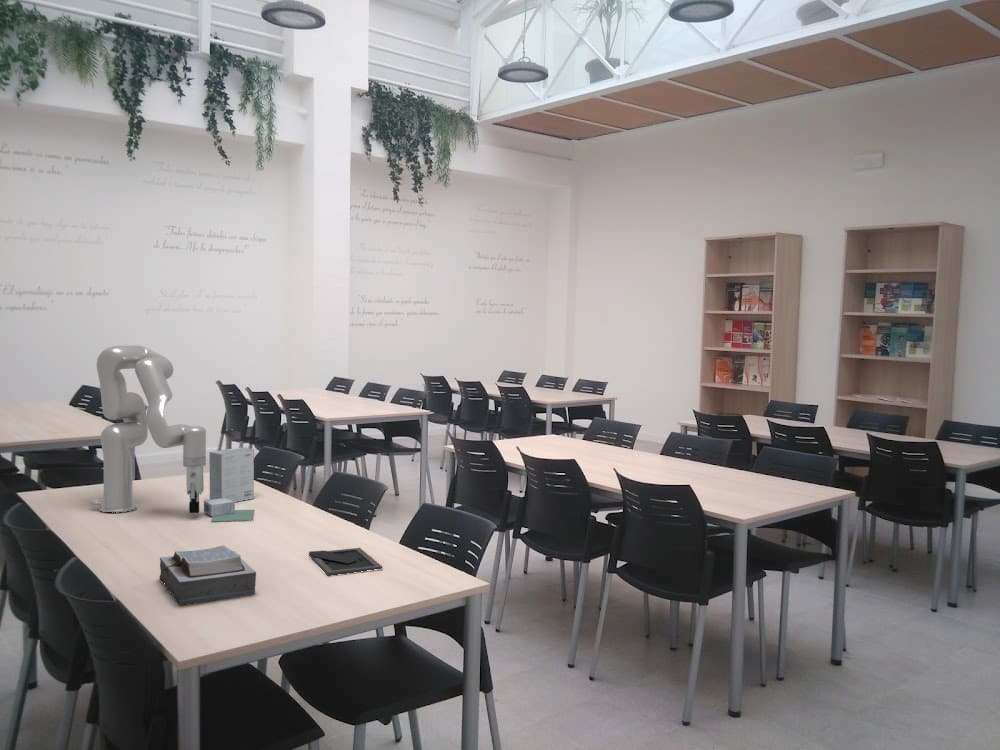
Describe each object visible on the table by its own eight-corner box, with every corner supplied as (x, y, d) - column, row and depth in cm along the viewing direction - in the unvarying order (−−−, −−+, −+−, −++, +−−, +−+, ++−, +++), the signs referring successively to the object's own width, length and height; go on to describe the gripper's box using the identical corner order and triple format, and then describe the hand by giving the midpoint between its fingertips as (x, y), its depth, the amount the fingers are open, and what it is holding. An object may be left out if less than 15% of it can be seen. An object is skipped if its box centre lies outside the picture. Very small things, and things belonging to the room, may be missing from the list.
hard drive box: (242, 496, 322) (243, 447, 321) (254, 499, 318) (255, 449, 317) (208, 502, 310) (208, 451, 309) (220, 505, 305) (221, 453, 304)
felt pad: (211, 522, 280) (211, 521, 280) (214, 511, 295) (214, 510, 295) (253, 521, 284) (253, 519, 283) (254, 510, 299) (254, 509, 299)
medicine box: (211, 516, 286) (234, 513, 292) (211, 504, 286) (235, 501, 291) (203, 512, 292) (227, 509, 298) (203, 500, 292) (227, 497, 297)
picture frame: (308, 558, 243) (327, 578, 225) (308, 551, 243) (327, 571, 225) (359, 552, 251) (382, 571, 232) (359, 546, 251) (382, 565, 232)
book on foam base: (158, 609, 196) (158, 570, 196) (158, 576, 221) (158, 541, 220) (257, 600, 205) (257, 562, 205) (247, 569, 230) (247, 535, 230)
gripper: (203, 465, 278) (203, 517, 279) (207, 457, 293) (207, 507, 294) (180, 465, 276) (180, 518, 277) (185, 458, 291) (185, 508, 292)
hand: (194, 512), depth 286 cm, fingers closed
